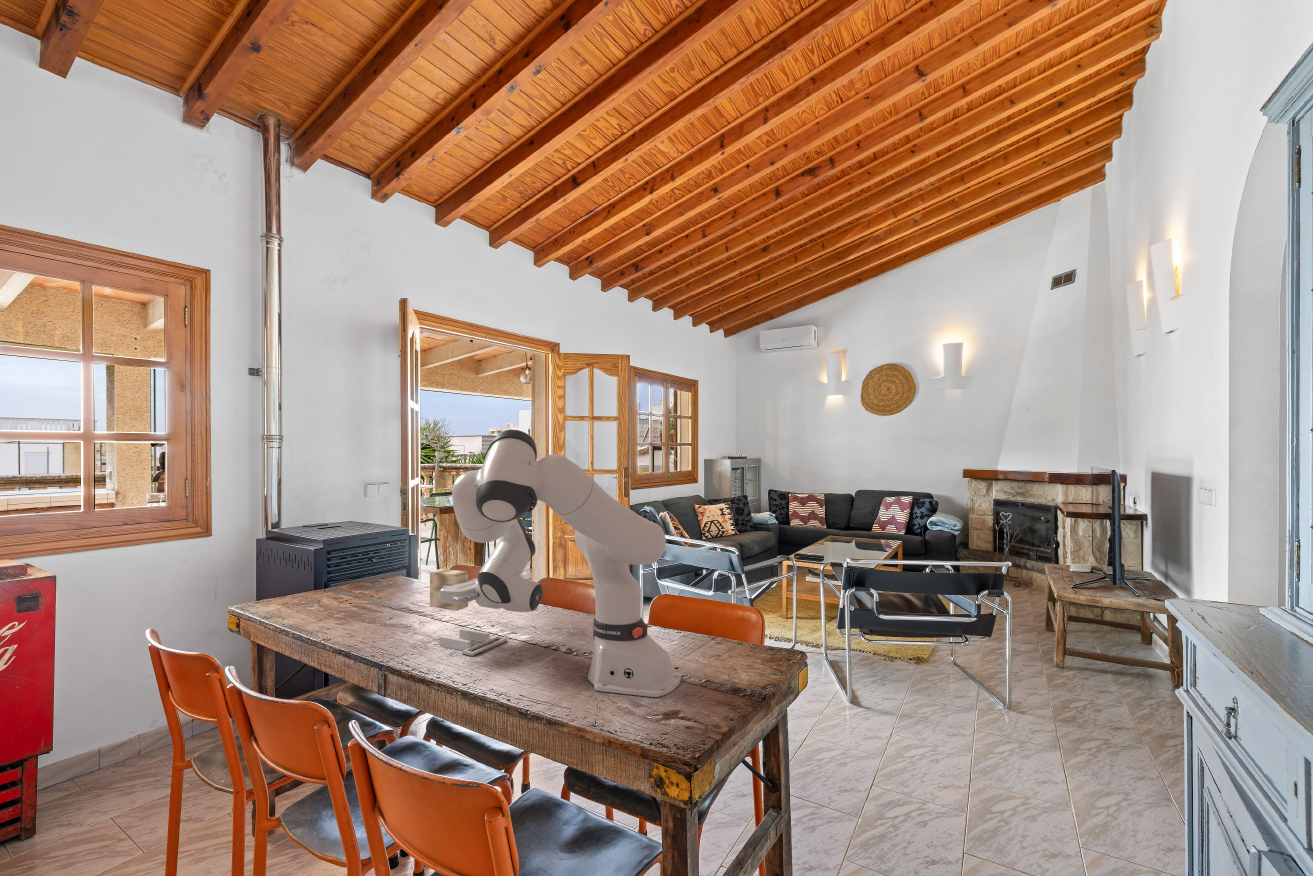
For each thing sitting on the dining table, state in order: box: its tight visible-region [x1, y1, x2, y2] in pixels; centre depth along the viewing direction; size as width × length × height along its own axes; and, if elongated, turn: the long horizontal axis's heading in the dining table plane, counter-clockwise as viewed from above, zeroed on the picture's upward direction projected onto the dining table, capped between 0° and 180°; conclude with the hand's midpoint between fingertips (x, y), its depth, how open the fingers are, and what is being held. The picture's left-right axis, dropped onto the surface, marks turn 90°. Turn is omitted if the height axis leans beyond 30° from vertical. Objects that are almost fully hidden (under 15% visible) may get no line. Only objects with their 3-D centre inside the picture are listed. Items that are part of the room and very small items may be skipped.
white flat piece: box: [439, 627, 491, 651], centre depth 166 cm, size 10×9×2 cm
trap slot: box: [461, 635, 508, 657], centre depth 163 cm, size 4×14×1 cm, turn 156°
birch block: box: [429, 568, 469, 612], centre depth 170 cm, size 10×4×10 cm, turn 65°
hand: (451, 585), depth 169 cm, fingers closed on birch block, 4 cm apart
